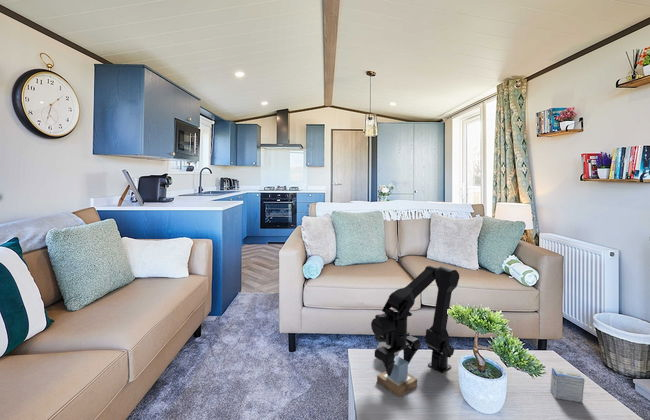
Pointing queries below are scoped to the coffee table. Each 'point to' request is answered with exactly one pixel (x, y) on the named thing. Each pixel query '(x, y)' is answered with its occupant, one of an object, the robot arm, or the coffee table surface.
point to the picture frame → (397, 387)
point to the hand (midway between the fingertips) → (397, 370)
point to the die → (386, 347)
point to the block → (399, 370)
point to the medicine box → (567, 385)
